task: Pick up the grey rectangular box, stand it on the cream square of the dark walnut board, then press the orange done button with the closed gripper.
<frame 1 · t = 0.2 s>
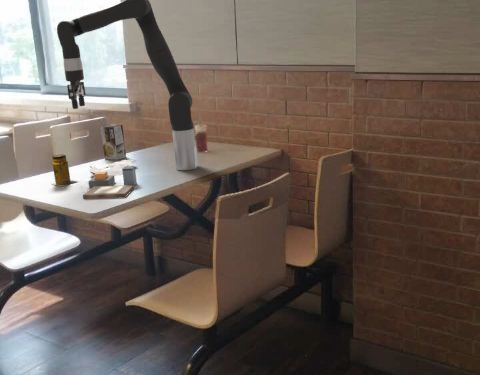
hand: (79, 107, 256), 29 cm above the table, tool pointing down, fingers open, 8 cm apart
paper: (111, 172, 263), on the table
coffee box: (115, 158, 290), on the table
drawing board: (109, 193, 226), on the table
done button: (101, 176, 238), point 4 cm above the table, slide at 0.0 cm
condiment: (65, 183, 247), on the table
button housing: (102, 185, 239), on the table
grey rectangular box: (130, 185, 237), on the table
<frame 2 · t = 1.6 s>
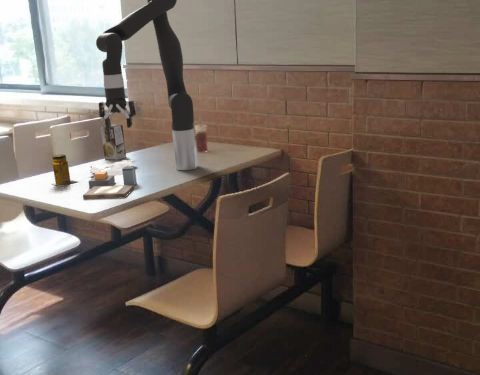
hand: (119, 127, 234), 23 cm above the table, tool pointing down, fingers open, 8 cm apart
nothing on the table moved.
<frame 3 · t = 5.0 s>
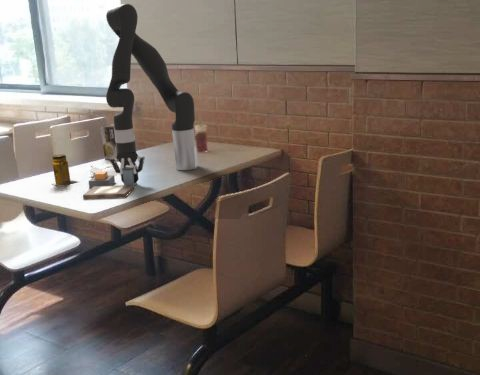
hand: (130, 182, 237), 1 cm above the table, tool pointing down, fingers closed on grey rectangular box, 4 cm apart
grey rectangular box: (130, 184, 237), on the table, touching gripper
everything else where it was.
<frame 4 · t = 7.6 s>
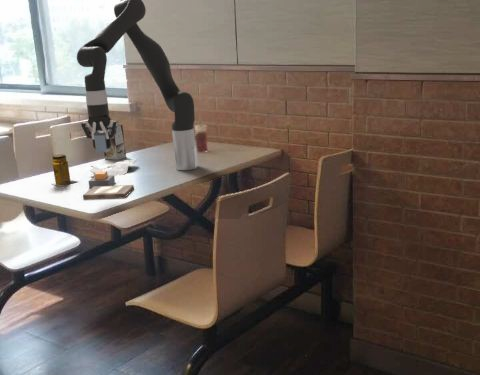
hand: (102, 148, 222), 18 cm above the table, tool pointing down, fingers closed on grey rectangular box, 4 cm apart
grey rectangular box: (103, 151, 222), point 16 cm above the table, touching gripper
everything else where it was.
when the fingers open (4 cm above the table, at t = 10.5 s): grey rectangular box stays where it is, resting on drawing board.
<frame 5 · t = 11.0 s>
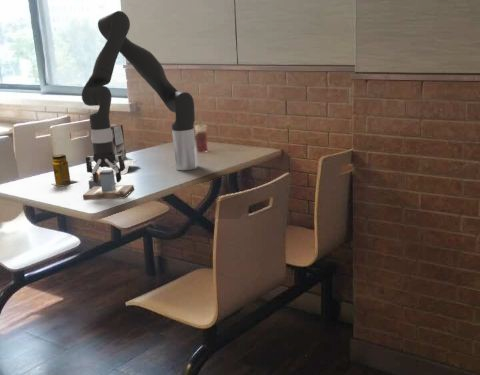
hand: (107, 182, 225), 4 cm above the table, tool pointing down, fingers open, 8 cm apart
grey rectangular box: (108, 189, 226), point 2 cm above the table, touching drawing board
everything else where it was.
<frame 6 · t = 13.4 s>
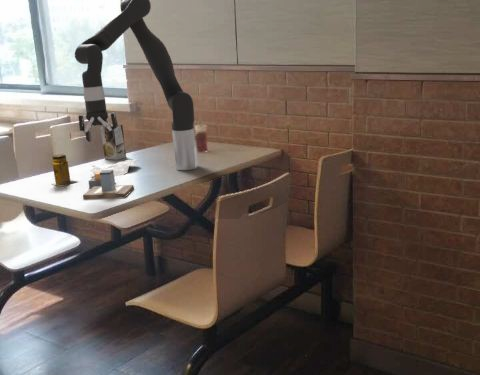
hand: (100, 140, 229), 19 cm above the table, tool pointing down, fingers open, 8 cm apart
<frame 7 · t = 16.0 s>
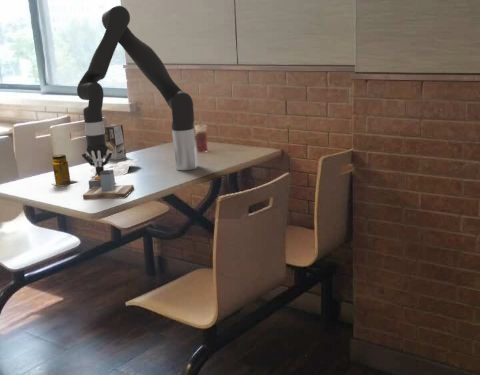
hand: (100, 175, 238), 4 cm above the table, tool pointing down, fingers closed
done button: (101, 179, 239), point 2 cm above the table, slide at 1.1 cm, touching gripper
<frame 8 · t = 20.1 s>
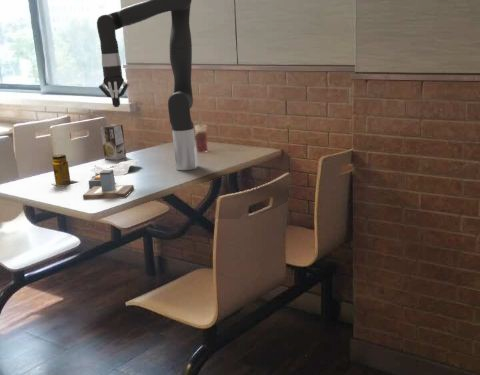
hand: (116, 106, 249), 29 cm above the table, tool pointing down, fingers closed
done button: (101, 180, 239), point 2 cm above the table, slide at 1.3 cm
at the end: grey rectangular box 0.0 cm off-centre on the drawing board, point 1.6 cm above the drawing board's base; grey rectangular box tilted 0°; done button slide at 1.3 cm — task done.
